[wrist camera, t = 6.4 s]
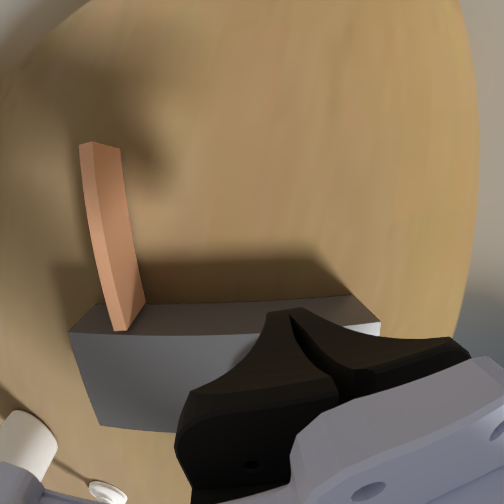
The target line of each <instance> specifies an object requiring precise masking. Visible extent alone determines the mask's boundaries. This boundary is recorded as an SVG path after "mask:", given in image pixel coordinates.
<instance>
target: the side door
mask: <svg viewBox="0 0 504 504" xmlns="http://www.w3.org/2000/svg"><path fill="white" fill-rule="evenodd" d="M79 155H80V166H81V175H82V184H83V191H84V199H85V206H86V212H87V218H88V224H89V230H90V235H91V240H92V246H93V251H94V255H95V260H96V265H97V269H98V273H99V278H100V282H101V286H102V290H103V294H104V297H105V301H106V305H107V308H108V312H109V316H110V319H111V322H112V326H113V329H114V331H125V330H128V328H129V327H130V325H131V324H132V322H133V321H134V319H135V318H136V316H137V315H138V313H139V312H140V310H141V309H142V307H143V306H144V304H145V303H146V300H145V295H144V291H143V287H142V282H141V277H140V273H139V268H138V263H137V258H136V253H135V248H134V243H133V237H132V231H131V226H130V220H129V213H128V207H127V200H126V193H125V186H124V178H123V170H122V161H121V151H120V149H119V148H116V147H112V146H108V145H105V144H101V143H97V142H93V141H91V142H87V143H84V144H80V145H79Z"/></svg>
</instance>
